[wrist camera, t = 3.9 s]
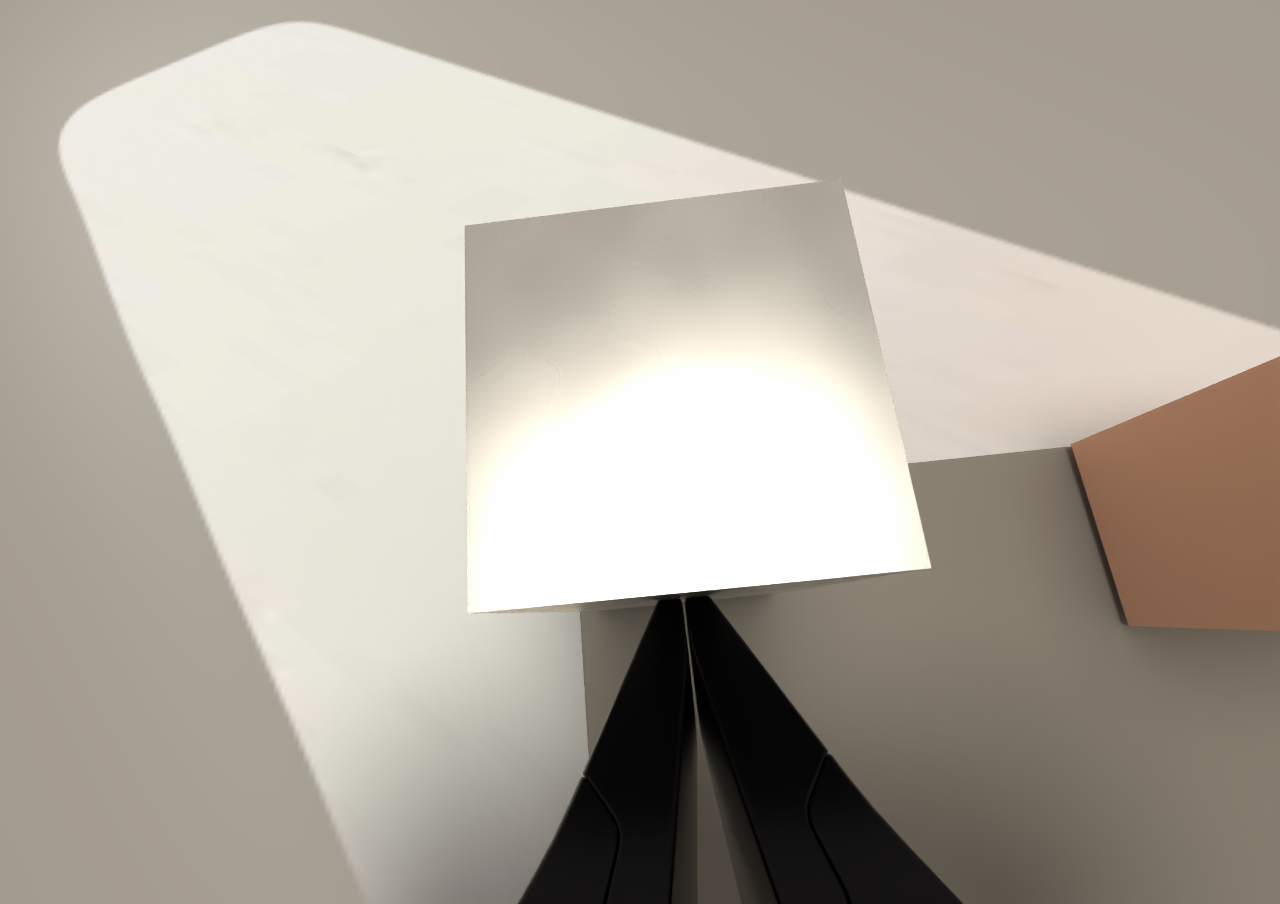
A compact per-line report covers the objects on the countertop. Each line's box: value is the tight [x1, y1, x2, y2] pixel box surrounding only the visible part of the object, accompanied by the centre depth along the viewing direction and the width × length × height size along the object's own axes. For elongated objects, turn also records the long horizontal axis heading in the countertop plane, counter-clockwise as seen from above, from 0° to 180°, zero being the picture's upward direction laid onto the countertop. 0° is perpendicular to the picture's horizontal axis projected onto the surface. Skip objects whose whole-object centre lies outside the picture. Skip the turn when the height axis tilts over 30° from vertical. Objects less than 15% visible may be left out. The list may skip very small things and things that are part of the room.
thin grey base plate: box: [580, 447, 1280, 904], centre depth 15 cm, size 13×20×1 cm, turn 95°
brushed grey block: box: [465, 179, 931, 613], centre depth 12 cm, size 5×5×10 cm
